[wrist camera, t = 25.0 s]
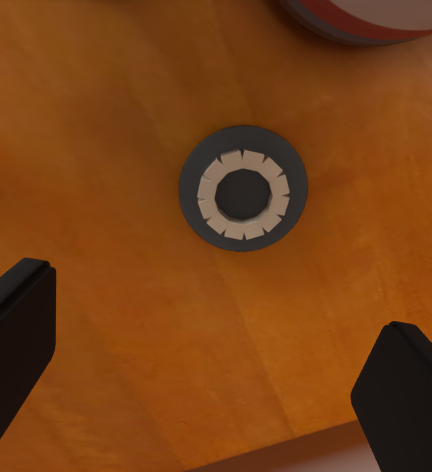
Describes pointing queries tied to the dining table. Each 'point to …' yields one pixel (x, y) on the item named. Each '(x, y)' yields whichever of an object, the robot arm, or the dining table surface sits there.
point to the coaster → (242, 185)
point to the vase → (363, 19)
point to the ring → (254, 224)
